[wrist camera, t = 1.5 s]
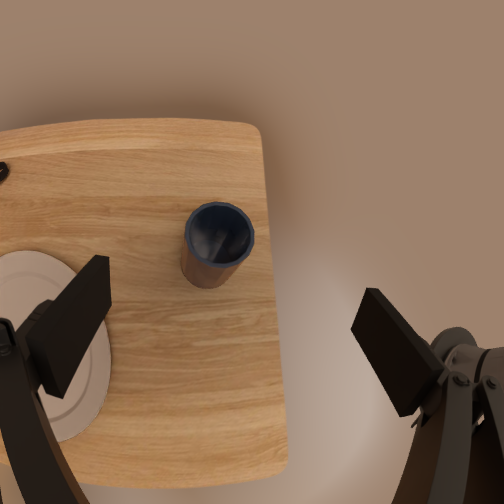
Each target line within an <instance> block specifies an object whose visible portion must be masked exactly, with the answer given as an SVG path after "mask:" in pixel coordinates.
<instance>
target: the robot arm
mask: <svg viewBox="0 0 504 504" xmlns="http://www.w3.org/2000/svg"><path fill="white" fill-rule="evenodd" d="M111 306H112V302H111V287H110V265H109V257H108V256H101V255H95V256H94V257H93V258H92V259H91V260H90V261H89V262H88V263H87V264H86V265H85V266H84V267H83V268H82V269H81V270H80V272H79V273H78V274H77V275H76V276H75V277H74V278H73V279H72V280H71V281H70V283H69V284H68V285H67V286H66V287H65V288H64V289H63V291H62V292H61V293H60V294H59V295H58V296H57V297H56V299H55V300H49V299H47V300H45V301H43V302H42V303H40V304H38V305H37V306H36V308H35V309H34V310H33V311H32V313H30V315H29V316H28V317H27V319H25V320H24V322H23V323H22V324H21V325H20V326H19V328H18V329H17V330H16V331H15V330H14V327H13V324H12V322H11V321H10V320H9V319H7V318H2V317H1V318H0V429H1V433H2V437H3V441H4V445H5V448H6V452H7V455H8V458H9V461H10V464H11V467H12V470H13V473H14V476H15V478H16V481H17V484H18V486H19V489H20V491H21V494H22V496H23V498H24V501H25V503H26V504H90V503H89V502H88V500H87V498H86V497H85V495H84V493H83V491H82V490H81V488H80V486H79V484H78V482H77V481H76V479H75V477H74V475H73V473H72V471H71V469H70V467H69V465H68V463H67V461H66V459H65V457H64V455H63V453H62V451H61V449H60V446H59V444H58V442H57V440H56V437H55V435H54V433H53V430H52V428H51V425H50V423H49V420H48V417H47V415H46V412H45V409H44V407H43V404H42V401H41V398H40V395H39V393H38V389H39V387H40V386H41V384H42V386H43V388H44V391H45V393H46V394H48V395H51V396H54V397H56V398H60V399H63V398H64V396H65V394H66V392H67V389H68V387H69V385H70V383H71V381H72V379H73V377H74V375H75V373H76V371H77V369H78V367H79V365H80V363H81V361H82V359H83V357H84V355H85V353H86V351H87V349H88V347H89V345H90V343H91V342H92V340H93V338H94V336H95V334H96V332H97V330H98V329H99V327H100V325H101V323H102V321H103V320H104V318H105V316H106V314H107V313H108V311H109V309H110V307H111ZM351 331H352V333H353V335H354V336H355V338H356V340H357V342H358V343H359V345H360V347H361V348H362V350H363V352H364V354H365V355H366V357H367V359H368V361H369V362H370V364H371V366H372V368H373V369H374V371H375V373H376V374H377V376H378V378H379V380H380V382H381V384H382V385H383V387H384V389H385V391H386V393H387V394H388V396H389V398H390V400H391V402H392V404H393V405H394V407H395V409H396V411H397V413H398V415H399V417H405V416H409V415H413V414H414V413H415V411H416V410H417V408H418V407H419V406H421V407H422V409H423V411H422V412H421V414H420V415H419V416H418V418H417V419H416V420H415V421H414V423H413V424H412V425H411V428H413V427H414V426H415V425H416V424H417V427H416V431H415V435H414V439H413V442H412V446H411V449H410V453H409V456H408V459H407V463H406V465H405V469H404V471H403V475H402V477H401V480H400V483H399V486H398V488H397V491H396V494H395V496H394V499H393V501H392V503H391V504H504V347H499V348H493V349H482V348H479V347H476V346H472V345H471V344H470V345H469V344H458V345H455V346H453V347H451V348H450V349H449V350H448V352H447V353H446V354H445V356H444V358H443V360H441V359H440V358H439V356H438V355H436V353H435V351H434V350H433V349H431V346H430V345H429V344H428V343H427V342H426V341H425V340H424V339H423V338H421V337H420V336H419V335H418V334H417V333H416V332H415V331H414V330H413V328H412V327H411V326H410V325H409V324H408V322H407V321H406V320H405V319H404V318H403V317H402V315H401V314H400V313H399V312H398V311H397V310H396V308H395V307H394V306H393V305H392V304H391V303H390V302H389V301H388V299H387V298H386V297H385V296H384V295H383V294H382V293H381V292H380V290H379V289H376V288H366V290H365V293H364V296H363V299H362V301H361V304H360V307H359V309H358V312H357V315H356V317H355V320H354V322H353V325H352V327H351ZM483 414H484V420H483V421H482V423H481V424H480V425H478V420H479V419H480V417H481V416H482V415H483ZM0 504H3V502H2V496H1V489H0Z"/></svg>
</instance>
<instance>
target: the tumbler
mask: <svg viewBox="0 0 504 504" xmlns="http://www.w3.org/2000/svg"><path fill="white" fill-rule="evenodd" d="M253 245H254V228H253V226H252V223H251V221H250V219H249V218H248V216H247V215H246V214H245V213H244V212H243V211H242V210H241V209H239V208H238V207H236V206H234V205H232V204H230V203H224V202H211V203H207V204H203V205H202V206H200V207H199V208H197V209H196V210H195V211H193V212H192V214H191V215H190V217H189V219H188V221H187V222H186V226H185V233H184V241H183V248H182V257H181V268H182V271H183V274H184V276H185V277H186V279H187V280H188V281H189V282H190V283H191V284H193V285H194V286H196V287H199V288H202V289H213V288H216V287H219V286H221V285H222V284H224V283H225V282H226V281H227V280H228V279H229V278H230V277H231V276H232V274H233V273H234V272H235V271H236V270H237V269H238V267H239V266H240V265H241V264H242V263H243V262H244V260H245V259H246V258H247V257H248V256H249V254H250V252H251V250H252V248H253Z"/></svg>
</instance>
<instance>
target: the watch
mask: <svg viewBox="0 0 504 504" xmlns="http://www.w3.org/2000/svg"><path fill="white" fill-rule="evenodd" d="M2 169H3V170H2ZM0 170H2V171H1V172H0V181H2V180H3V179H4V178H5V177H6V176H7V175H8V173H9V170H8V168H7V165H6V163H5V162H0Z"/></svg>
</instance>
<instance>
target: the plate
mask: <svg viewBox="0 0 504 504" xmlns="http://www.w3.org/2000/svg"><path fill="white" fill-rule="evenodd" d="M76 275H77V274H76V273H75V272H74V271H73V270H72V269H71V268H70V267H69V266H67V265H66V264H64V263H63V262H62V261H60V260H58V259H56V258H54V257H53V256H50V255H48V254H45V253H42V252H36V251H16V252H12V253H9V254H5V255H3V256H1V257H0V318H1V317H2V318H7V319H9V320H10V321H11V322H12V324H13V327H14V330H15V331H16V330H17V329H18V328H19V326H20V325H21V324H22V323H23V322H24V320H25V319H27V317H28V316H29V315H30V313H32V311H33V310H34V309H35V308H36V306H37V305H38V304H40V303H42V302H43V301H45V300H47V299H49V300H55V299H56V297H57V296H58V295H59V294H60V293H61V292H62V291H63V289H64V288H65V287H66V286H67V285H68V284H69V283H70V281H71V280H72V279H73V278H74V277H75V276H76ZM110 373H111V353H110V343H109V338H108V333H107V329H106V325H105V322H104V320H103V321H102V323H101V325H100V327H99V329H98V330H97V332H96V334H95V336H94V338H93V340H92V342H91V343H90V345H89V347H88V349H87V351H86V353H85V355H84V357H83V359H82V361H81V363H80V365H79V367H78V369H77V371H76V373H75V375H74V377H73V379H72V381H71V383H70V385H69V387H68V389H67V392H66V394H65V396H64V398H63V399H60V398H56V397H54V396H51V395H48V394H46V393H45V391H44V388H43V386H42V384H41V386H40V387H39V389H38V393H39V395H40V398H41V401H42V404H43V407H44V409H45V412H46V415H47V417H48V420H49V423H50V425H51V428H52V430H53V433H54V435H55V437H56V440H57V442H62V441H66V440H68V439H70V438H73V437H75V436H76V435H78V434H80V433H81V432H83V431H84V430H85V429H86V428H87V427H88V426H89V425H90V424H91V423H92V421H93V420H94V419H95V418H96V416H97V415H98V413H99V411H100V409H101V407H102V405H103V403H104V400H105V397H106V394H107V390H108V386H109V381H110Z"/></svg>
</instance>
